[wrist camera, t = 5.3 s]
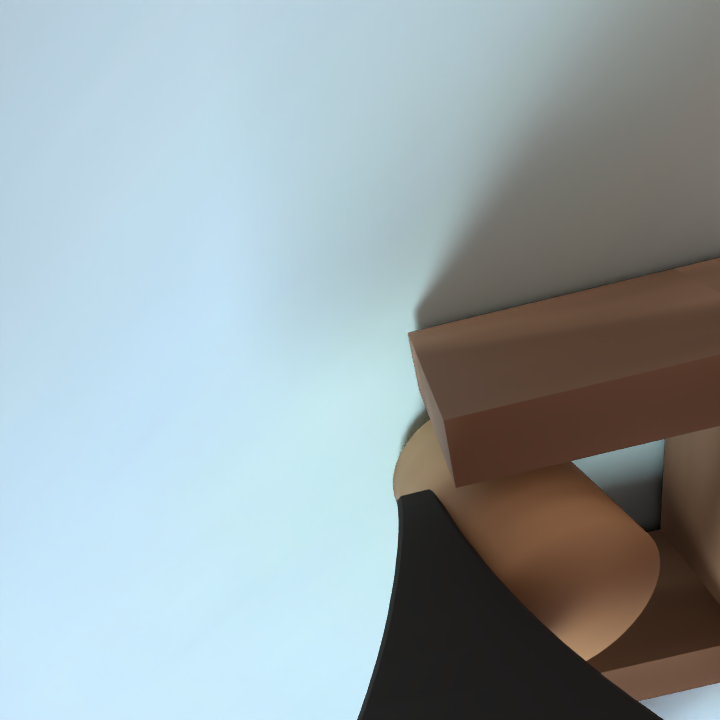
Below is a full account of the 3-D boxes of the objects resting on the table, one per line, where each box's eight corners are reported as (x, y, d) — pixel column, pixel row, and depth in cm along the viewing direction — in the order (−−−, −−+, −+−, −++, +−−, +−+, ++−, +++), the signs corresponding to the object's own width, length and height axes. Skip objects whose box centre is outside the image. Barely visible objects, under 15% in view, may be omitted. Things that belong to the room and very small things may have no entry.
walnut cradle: (724, 549, 17) (857, 700, 13) (462, 610, 17) (513, 778, 13) (763, 246, 12) (987, 331, 8) (407, 332, 12) (458, 457, 8)
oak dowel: (531, 506, 16) (645, 640, 12) (398, 546, 15) (474, 704, 11) (537, 384, 14) (674, 496, 10) (386, 422, 13) (472, 560, 9)
